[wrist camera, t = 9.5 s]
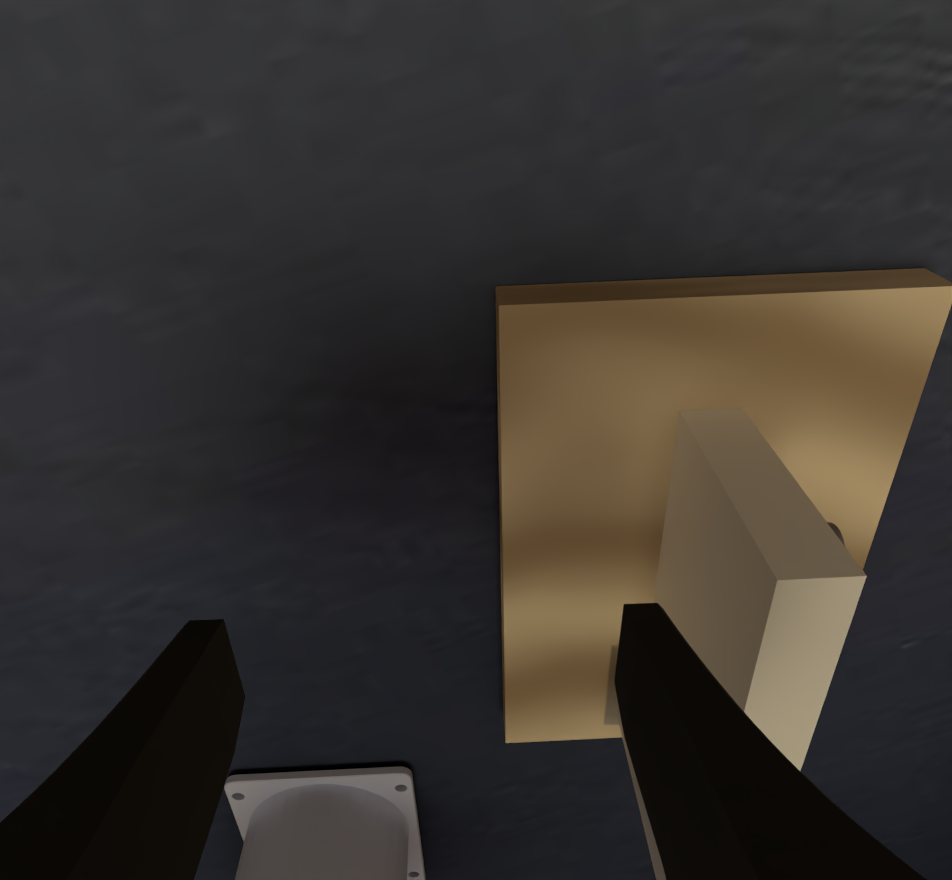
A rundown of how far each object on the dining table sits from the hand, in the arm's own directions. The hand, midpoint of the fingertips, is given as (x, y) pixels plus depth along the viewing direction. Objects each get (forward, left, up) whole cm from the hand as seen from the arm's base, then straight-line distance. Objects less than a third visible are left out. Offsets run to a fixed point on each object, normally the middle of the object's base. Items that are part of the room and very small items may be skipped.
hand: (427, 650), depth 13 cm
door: (-7, -8, -8) cm, 13 cm away
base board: (-6, -8, -10) cm, 14 cm away
